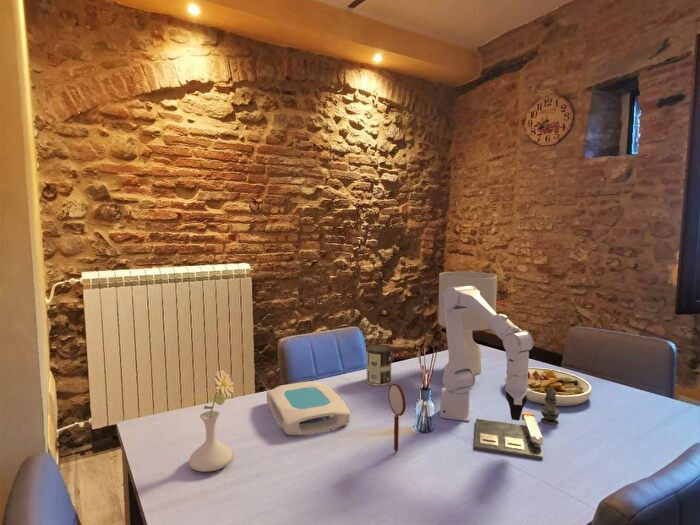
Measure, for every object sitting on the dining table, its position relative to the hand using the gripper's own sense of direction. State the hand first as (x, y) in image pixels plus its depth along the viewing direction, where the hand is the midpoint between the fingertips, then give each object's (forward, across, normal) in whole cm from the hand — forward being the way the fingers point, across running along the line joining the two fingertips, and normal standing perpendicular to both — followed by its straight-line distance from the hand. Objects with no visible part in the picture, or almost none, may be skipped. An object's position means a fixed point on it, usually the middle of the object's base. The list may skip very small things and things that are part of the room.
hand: (515, 419), depth 124 cm
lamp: (+9, +63, +17) cm, 66 cm away
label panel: (+8, +4, +2) cm, 10 cm away
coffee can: (+9, +38, +50) cm, 63 cm away
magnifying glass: (+9, -14, +32) cm, 36 cm away
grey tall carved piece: (+9, +21, -12) cm, 26 cm away
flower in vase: (+9, -34, +78) cm, 86 cm away
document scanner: (+9, +1, +66) cm, 67 cm away
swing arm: (+6, +7, -5) cm, 11 cm away
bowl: (+9, +47, -14) cm, 50 cm away
